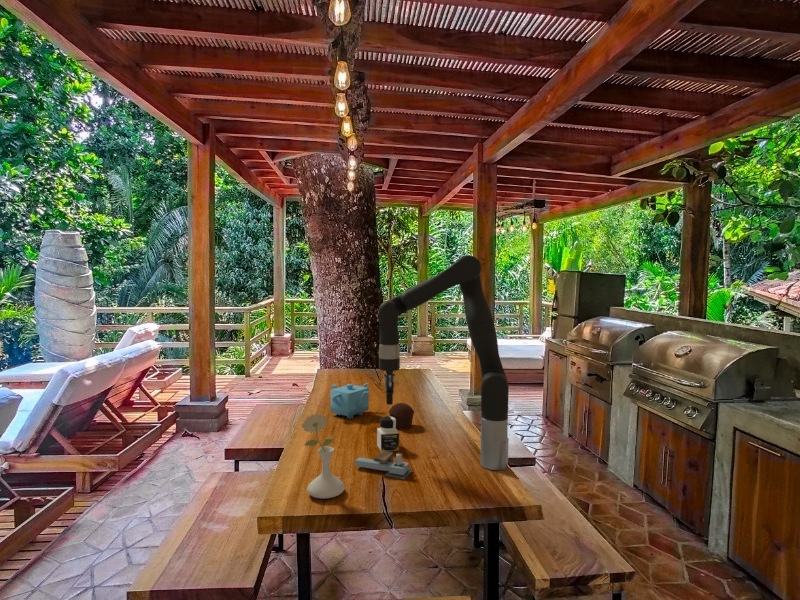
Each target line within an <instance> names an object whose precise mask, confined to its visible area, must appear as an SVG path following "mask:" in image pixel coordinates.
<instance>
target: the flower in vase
mask: <svg viewBox="0 0 800 600" xmlns="http://www.w3.org/2000/svg"><path fill="white" fill-rule="evenodd" d="M328 424H329V423H328V418H327V416H326V415H325V414H324V415H322V413H315V414H310V415H309V416H306V418H305V419H304V420H303V423H301V427H302V429H303V431H304V432H306V433H315V434H316V440H315V439H310V440H308V441H306V442H305V443H304V446H309V447H313V446H316V445H317V444H319V445H320V447H319V448H318V449H317V452H318V453H319V454H320V458H321V473H320V474H319V475H318V476H317V477H316V478H314V479H313V480H312V481H311V482H310V483H309V484H308V486H307V489H306V492H307V493H308V494H309V495H310V497H313V498H315V499H332V498H335V497H338V496H339V495H341V494H342V493H343V492H344V490H345V484H344V482H343V481H342V480H341V479H340V478H339V477H338V476H336V475H334V474H333V473H332V472H331V469H330V468H331V467H330V464H331V463H330V462H331V458H332V454H333V453H334V451H335V448H334V447H332V446H329V445H330V444H331V443H332V442H333V441H334V439H335V436H332V437H330V438H326V439H325V440H324V442H323V443H321V442H320V440H319V437H318V432H321V430H325V427H326V426H327V425H328Z"/></svg>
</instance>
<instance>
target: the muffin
mask: <svg viewBox="0 0 800 600" xmlns="http://www.w3.org/2000/svg"><path fill="white" fill-rule="evenodd" d="M388 413H389V416H391V417H394V418H395V419H396V429H397V430H401V429H402V430H409V429H410V428H411V427H412V425H413V420H414V414H415V411H414V409H413V408H412V406H411V405H409V404H408V403H404V402H398V403H395V404H393V405H392V406H391V407H390V409H389V410H388Z"/></svg>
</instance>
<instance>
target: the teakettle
mask: <svg viewBox="0 0 800 600" xmlns="http://www.w3.org/2000/svg"><path fill="white" fill-rule="evenodd" d="M369 384H370V383H369V382H366V383H364V384H363V385H362V386H361V385H356V384H352V383H347V384H346V385H343V386H340V387H339V386H338V385H336V384H334V383H332V384H330V385H331V387H333V388H332V389H330V413H333V414H335V415H339V416H338V417H340V415H342V416H343V417H344V416H345V417H346V419H347V418H349V420H351V418H352V419H354V416H355V415H358V416H364V413H363V412H366V411H369V408H370V407H369V405H370V404H369V403H370V402H369V401H370V400H369V397H370V394H369V393H370V391H369V390H370V389H369V387H367V386H368V385H369Z"/></svg>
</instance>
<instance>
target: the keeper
mask: <svg viewBox="0 0 800 600" xmlns="http://www.w3.org/2000/svg"><path fill="white" fill-rule="evenodd" d="M373 460H374V461H376V462H382V463H385V462H392V463H393V462H394V451H382V452H381V451H380V453H378V454H377V455H376V456H375V457H374V458H373Z"/></svg>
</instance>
